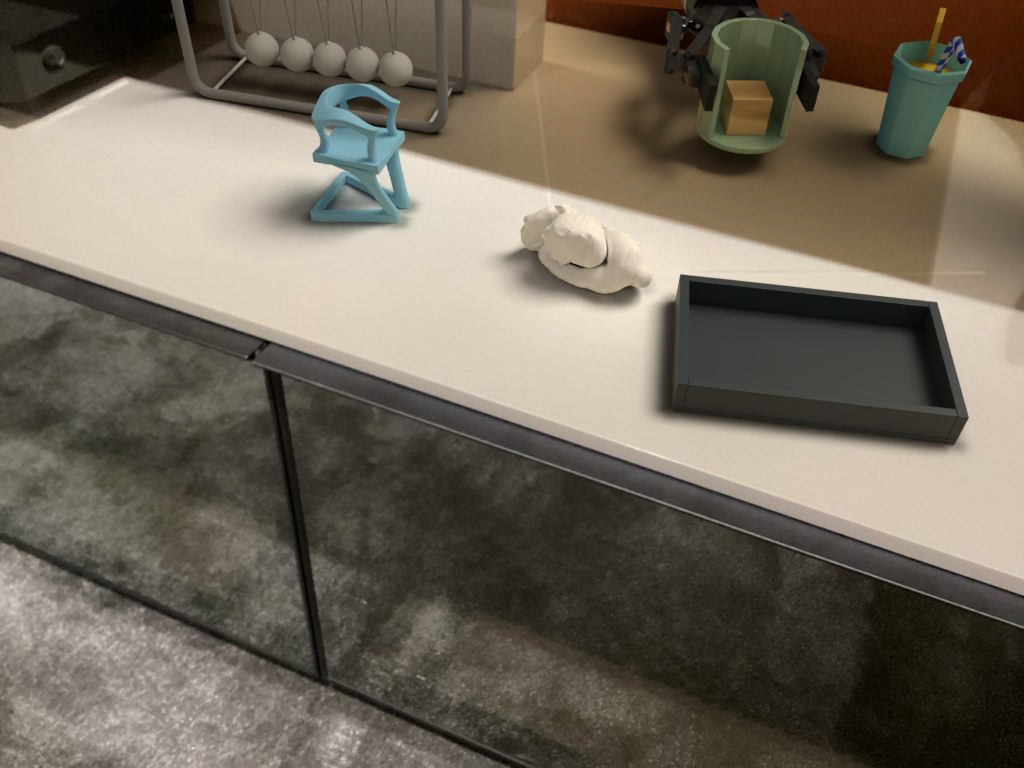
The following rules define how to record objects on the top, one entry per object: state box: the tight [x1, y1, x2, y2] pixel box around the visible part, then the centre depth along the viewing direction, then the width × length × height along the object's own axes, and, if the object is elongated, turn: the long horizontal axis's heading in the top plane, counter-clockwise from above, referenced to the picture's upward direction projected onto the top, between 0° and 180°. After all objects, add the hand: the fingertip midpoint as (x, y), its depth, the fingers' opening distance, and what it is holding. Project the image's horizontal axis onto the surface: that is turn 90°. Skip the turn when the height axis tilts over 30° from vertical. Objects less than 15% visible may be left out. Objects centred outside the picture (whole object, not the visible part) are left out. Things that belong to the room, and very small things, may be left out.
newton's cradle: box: [170, 0, 473, 134], centre depth 103 cm, size 30×10×18 cm, turn 76°
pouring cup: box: [695, 18, 809, 155], centre depth 97 cm, size 9×9×10 cm
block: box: [719, 80, 773, 135], centre depth 98 cm, size 4×4×4 cm
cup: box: [875, 7, 973, 160], centre depth 98 cm, size 14×8×15 cm, turn 173°
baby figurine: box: [519, 203, 653, 295], centre depth 85 cm, size 9×12×8 cm
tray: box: [671, 273, 970, 445], centre depth 78 cm, size 22×14×3 cm, turn 82°
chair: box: [309, 83, 411, 224], centre depth 90 cm, size 8×8×12 cm
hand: (762, 98), depth 93 cm, fingers closed on pouring cup, 9 cm apart
